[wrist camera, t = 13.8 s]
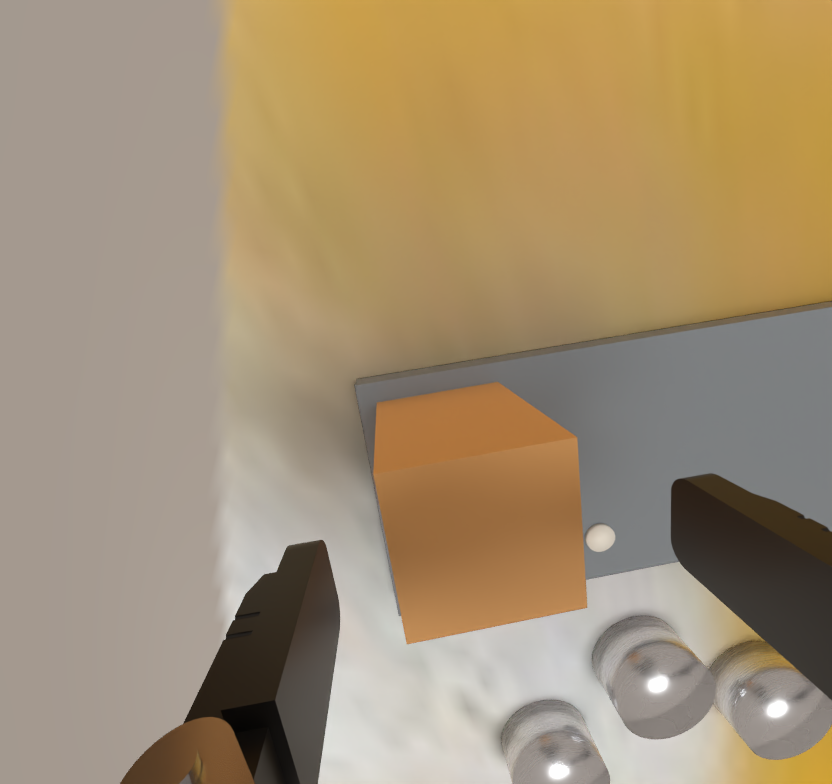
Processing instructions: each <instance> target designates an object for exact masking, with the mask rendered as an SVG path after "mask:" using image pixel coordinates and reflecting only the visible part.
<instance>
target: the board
mask: <svg viewBox="0 0 832 784" xmlns="http://www.w3.org/2000/svg"><path fill="white" fill-rule="evenodd" d="M494 382H499V383H500V384H502V385H503V386H504V387H506V388H507V389H509V390H510V391H512V392H513V393H514V394H516V395H517V396H519V397H520V398H522V399H523V400H525V401H526V402H527V403H529V404H530V405H532V406H533V407H535V408H536V409H537V410H539V411H540V412H542V413H543V414H545V415H546V416H547V417H549V418H550V419H552V420H553V421H555V422H556V423H558V424H559V425H560V426H562V427H563V428H565V429H566V430H568V431H569V432H570V433H572V434H573V435H575V436H576V437H577V441H578V458H579V475H580V492H581V509H582V527H583V544H584V561H585V578H586V580H587V579H592V578H597V577H602V576H607V575H613V574H618V573H623V572H628V571H633V570H638V569H643V568H648V567H654V566H659V565H664V564H669V563H674V562H679V561H678V559H677V557H676V555H675V553H674V551H673V548H672V544H671V487H672V484H673V482H674V481H675V480H677V479H680V478H686V477H691V476H697V475H703V474H709V473H713V474H716V475H719V476H721V477H722V478H724V479H726V480H728V481H730V482H732V483H734V484H736V485H738V486H740V487H741V488H743V489H745V490H747V491H749V492H751V493H753V494H756V495H759V496H762V497H765V498H769V499H772V500H775V501H777V502H779V503H781V504H783V505H785V506H787V507H789V508H791V509H793V510H795V511H797V512H799V513H801V514H803V515H804V517H805V518H806V519H808V518H810V519H812V520H814V521H816V522H818V523H820V524H822V525H824V526H826V527H828V529H829V531H832V301H830V302H824V303H818V304H811V305H805V306H799V307H793V308H787V309H781V310H775V311H769V312H763V313H757V314H751V315H744V316H738V317H732V318H726V319H720V320H714V321H708V322H702V323H696V324H690V325H683V326H677V327H671V328H665V329H659V330H653V331H647V332H641V333H635V334H629V335H623V336H616V337H610V338H604V339H598V340H592V341H586V342H580V343H574V344H568V345H562V346H555V347H549V348H543V349H537V350H531V351H525V352H519V353H513V354H507V355H501V356H495V357H488V358H482V359H476V360H470V361H464V362H458V363H452V364H446V365H440V366H434V367H428V368H421V369H415V370H409V371H403V372H397V373H391V374H385V375H379V376H373V377H367V378H360V379H357V380H356V383H355V391H356V396H357V401H358V406H359V411H360V416H361V422H362V427H363V432H364V437H365V442H366V448H367V453H368V458H369V463H370V468H371V473H372V479H373V484H374V489H375V494H376V499H377V505H378V510H379V515H380V520H381V525H382V530H383V536H384V541H385V546H386V551H387V556H388V562H389V567H390V572H391V577H392V582H393V587H394V593H395V598H396V603H397V608H398V613H399V616H401V612H400V607H399V602H398V597H397V592H396V587H395V582H394V576H393V571H392V566H391V561H390V556H389V551H388V546H387V541H386V536H385V531H384V526H383V521H382V516H381V511H380V505H379V500H378V495H377V490H376V485H375V480H374V475H373V470H374V449H375V428H376V406H377V402H383V401H389V400H395V399H401V398H406V397H412V396H418V395H424V394H430V393H436V392H441V391H447V390H453V389H459V388H465V387H470V386H476V385H482V384H488V383H494Z"/></svg>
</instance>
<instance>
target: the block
mask: <svg viewBox="0 0 832 784" xmlns="http://www.w3.org/2000/svg"><path fill="white" fill-rule="evenodd" d="M373 475H374V480H375V485H376V490H377V495H378V500H379V505H380V511H381V516H382V521H383V526H384V531H385V536H386V541H387V546H388V551H389V556H390V561H391V566H392V571H393V576H394V582H395V587H396V592H397V597H398V602H399V607H400V612H401V617H402V622H403V627H404V632H405V637H406V642H407V644H411V643H416V642H421V641H426V640H431V639H435V638H440V637H445V636H450V635H455V634H460V633H465V632H470V631H475V630H480V629H485V628H490V627H495V626H499V625H504V624H509V623H514V622H519V621H524V620H529V619H534V618H539V617H544V616H549V615H554V614H559V613H564V612H568V611H573V610H578V609H583V608H587V595H586V578H585V561H584V544H583V527H582V509H581V492H580V475H579V458H578V441H577V437H576V436H575V435H573V434H572V433H570V432H569V431H568V430H566V429H565V428H563V427H562V426H560V425H559V424H558V423H556V422H555V421H553V420H552V419H550V418H549V417H547V416H546V415H545V414H543V413H542V412H540V411H539V410H537V409H536V408H535V407H533V406H532V405H530V404H529V403H527V402H526V401H525V400H523V399H522V398H520V397H519V396H517V395H516V394H514V393H513V392H512V391H510V390H509V389H507V388H506V387H504V386H503V385H502V384H500V383H499V382H494V383H488V384H482V385H476V386H470V387H465V388H459V389H453V390H447V391H441V392H436V393H430V394H424V395H418V396H412V397H406V398H401V399H395V400H389V401H383V402H377V406H376V428H375V449H374V470H373Z"/></svg>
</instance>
